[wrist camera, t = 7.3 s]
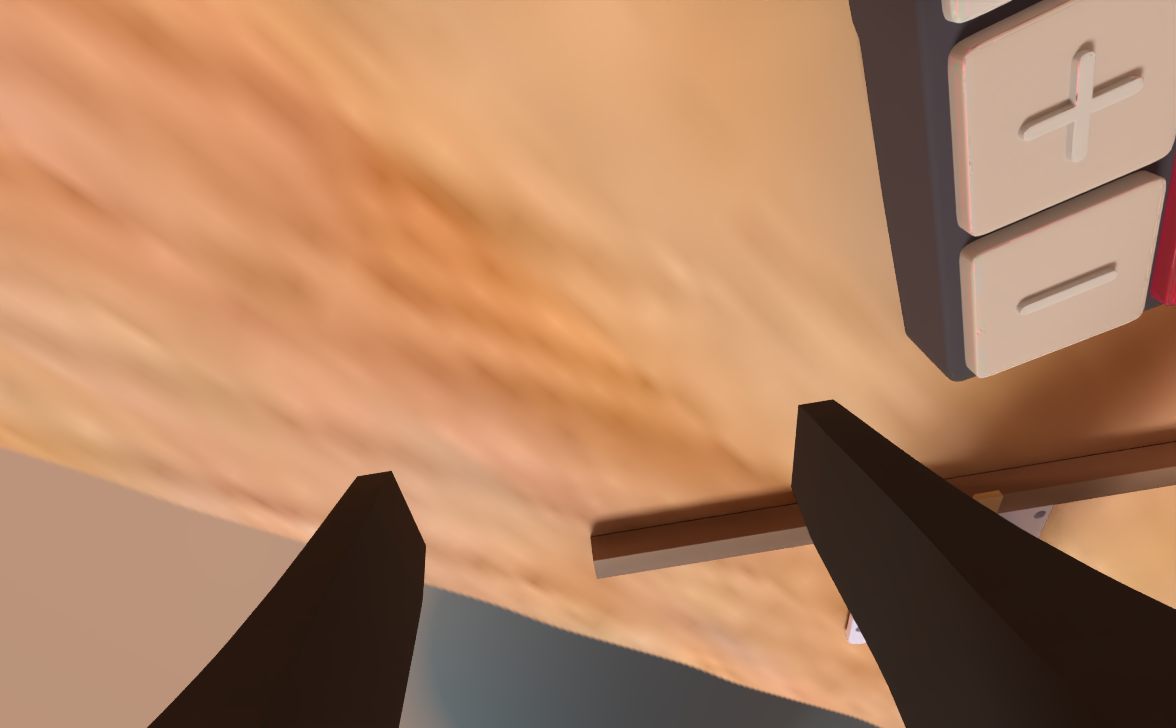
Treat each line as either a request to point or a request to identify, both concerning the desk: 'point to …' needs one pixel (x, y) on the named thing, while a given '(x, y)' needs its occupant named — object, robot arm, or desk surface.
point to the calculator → (1023, 169)
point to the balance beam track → (988, 489)
